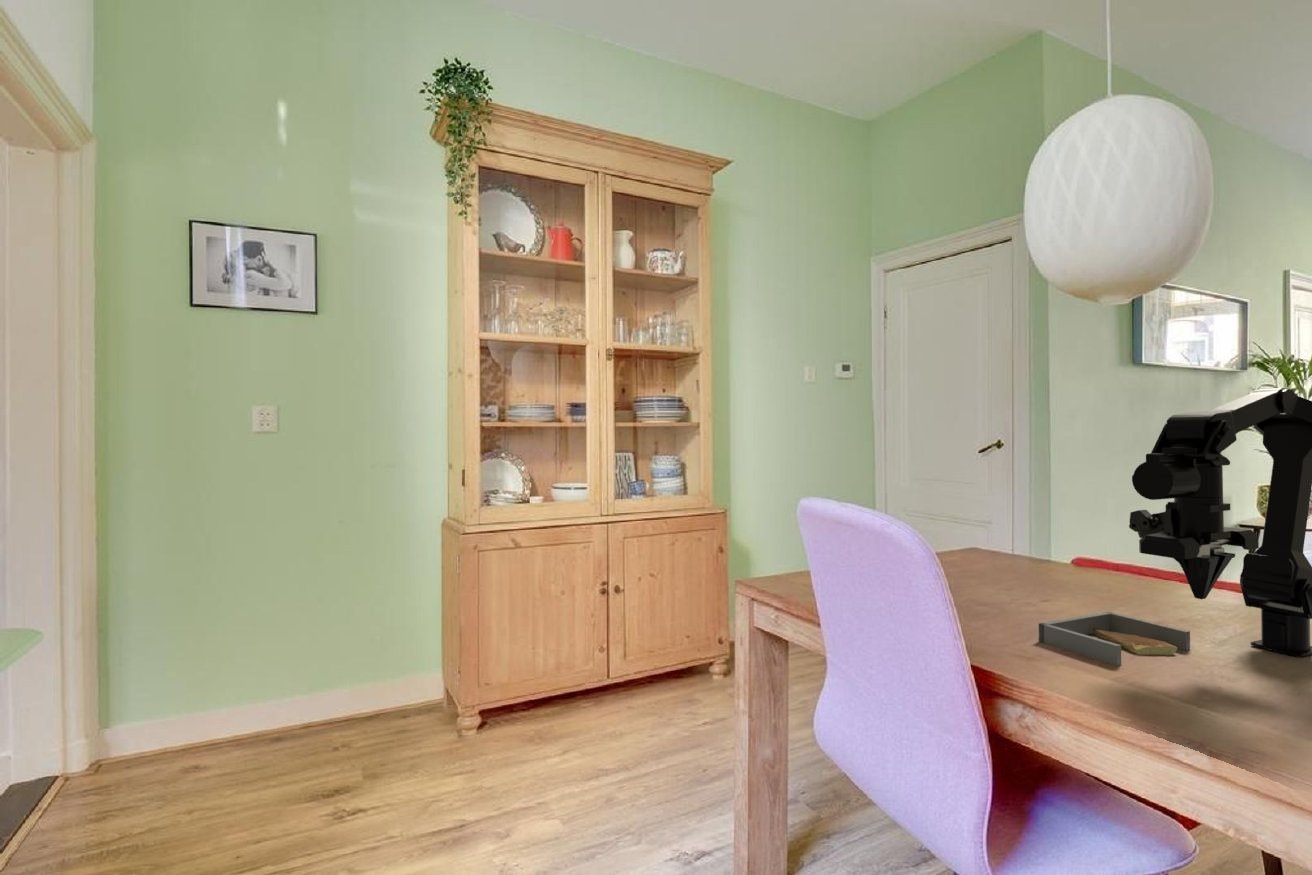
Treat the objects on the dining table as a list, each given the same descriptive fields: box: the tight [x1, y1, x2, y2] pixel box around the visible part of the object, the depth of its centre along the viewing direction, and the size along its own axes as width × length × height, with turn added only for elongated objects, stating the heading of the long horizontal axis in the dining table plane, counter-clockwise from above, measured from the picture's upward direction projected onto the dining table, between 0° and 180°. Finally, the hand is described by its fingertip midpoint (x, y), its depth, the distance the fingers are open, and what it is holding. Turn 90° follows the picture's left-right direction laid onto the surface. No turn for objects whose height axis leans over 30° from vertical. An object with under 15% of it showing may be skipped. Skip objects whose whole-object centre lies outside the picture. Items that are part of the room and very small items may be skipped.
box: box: [1038, 611, 1191, 666], centre depth 108 cm, size 18×13×3 cm
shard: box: [1093, 628, 1178, 656], centre depth 109 cm, size 11×8×2 cm
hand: (1200, 598), depth 98 cm, fingers closed
